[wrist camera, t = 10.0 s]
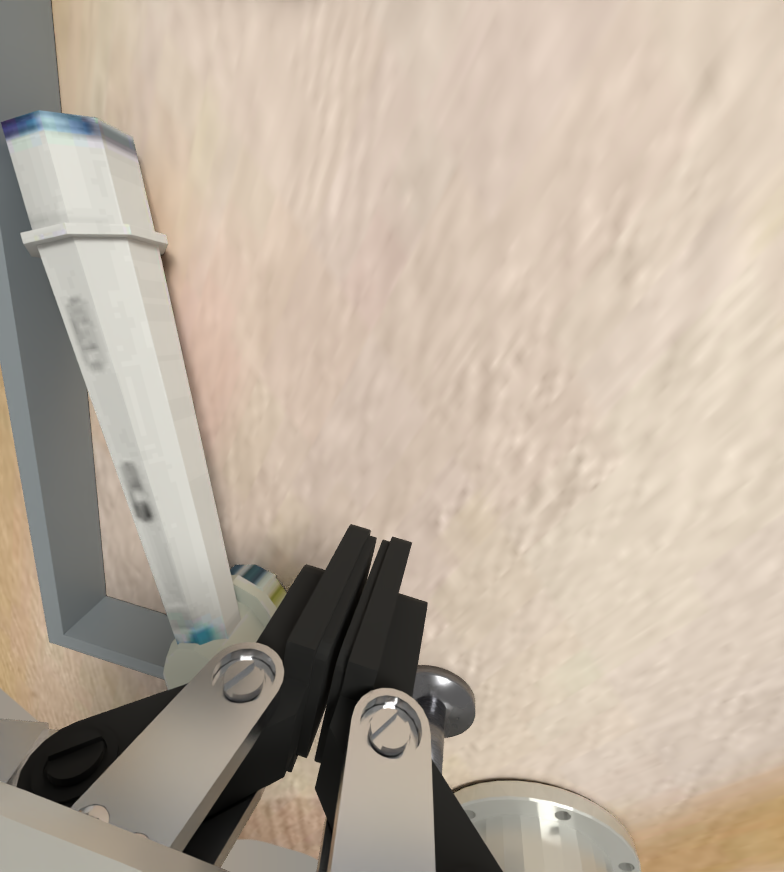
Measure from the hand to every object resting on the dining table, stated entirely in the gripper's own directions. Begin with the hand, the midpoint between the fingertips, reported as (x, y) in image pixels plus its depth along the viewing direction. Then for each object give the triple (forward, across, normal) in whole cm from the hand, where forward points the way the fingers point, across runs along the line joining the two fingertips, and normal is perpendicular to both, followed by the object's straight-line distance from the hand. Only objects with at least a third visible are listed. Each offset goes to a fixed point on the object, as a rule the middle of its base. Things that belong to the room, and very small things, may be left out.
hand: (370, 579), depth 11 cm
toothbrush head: (+9, +10, +2) cm, 14 cm away
